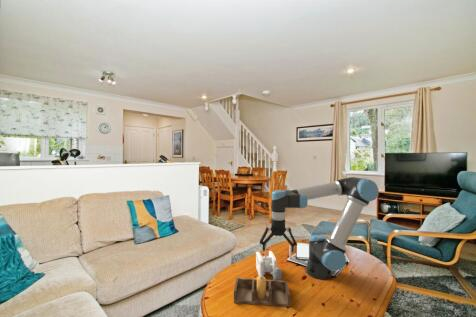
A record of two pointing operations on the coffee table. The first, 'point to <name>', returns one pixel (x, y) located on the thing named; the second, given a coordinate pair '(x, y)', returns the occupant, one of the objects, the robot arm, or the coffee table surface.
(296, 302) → the coffee table surface
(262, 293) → the yellow knobbed cylinder
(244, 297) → the brown compartment tray
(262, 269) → the cable organizer
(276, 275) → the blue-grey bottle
